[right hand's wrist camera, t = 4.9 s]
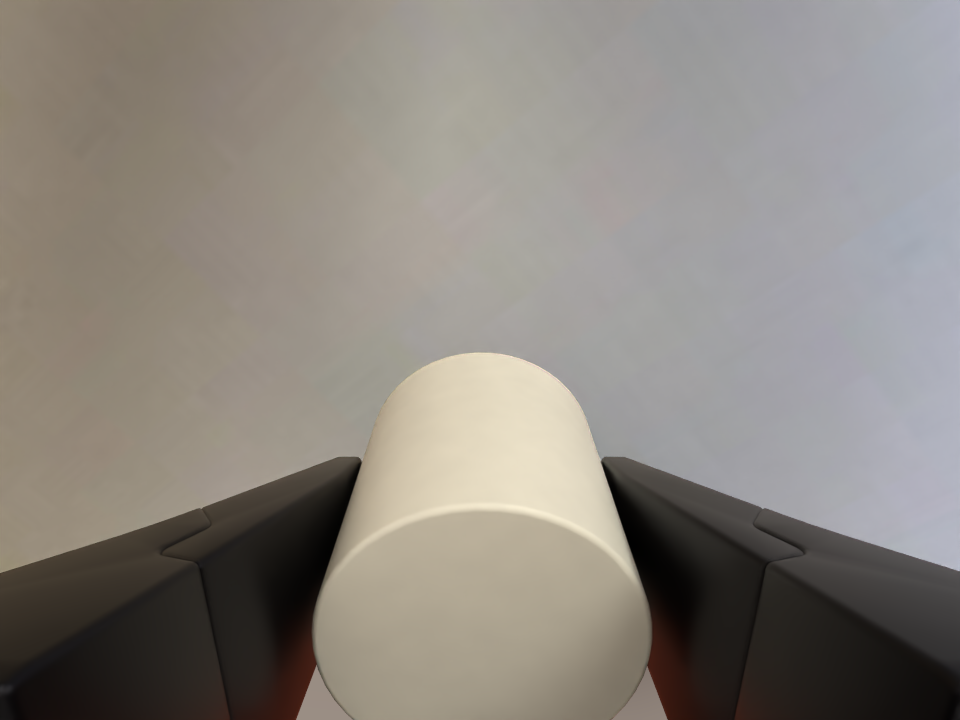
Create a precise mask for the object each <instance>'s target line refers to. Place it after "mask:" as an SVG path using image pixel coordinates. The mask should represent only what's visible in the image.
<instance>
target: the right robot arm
mask: <svg viewBox="0 0 960 720" xmlns="http://www.w3.org/2000/svg"><path fill="white" fill-rule="evenodd" d="M361 464H362V461H361V459H360V458H358V457H337V458H334V459H332V460H329V461H326V462H324V463H321V464H318V465H316V466H313V467H310V468H308V469H305V470H302V471H300V472H297V473H294V474H291V475H289V476H286V477H283V478H281V479H278V480H275V481H273V482H270V483H267V484H265V485H262V486H259V487H257V488H254V489H251V490H249V491H246V492H243V493H240V494H238V495H235V496H232V497H230V498H227V499H224V500H222V501H219V502H216V503H214V504H211V505H208V506H206V507H203V508H202V509H200V508H198V509H195V510H192V511H190V512H187V513H184V514H182V515H179V516H176V517H173V518H170V519H168V520H165V521H162V522H159V523H156V524H153V525H150V526H147V527H144V528H141V529H138V530H135V531H132V532H129V533H126V534H123V535H120V536H117V537H114V538H111V539H107V540H104V541H101V542H98V543H95V544H91V545H88V546H85V547H82V548H79V549H76V550H72V551H69V552H66V553H63V554H60V555H57V556H53V557H50V558H47V559H44V560H41V561H37V562H34V563H31V564H28V565H25V566H22V567H18V568H15V569H12V570H9V571H6V572H3V573H0V720H296V718H297V715H298V713H299V710H300V707H301V705H302V702H303V699H304V697H305V694H306V691H307V689H308V686H309V683H310V681H311V678H312V675H313V673H314V670H315V667H316V665H317V663H316V659H315V656H314V651H313V643H312V621H313V613H314V609H315V605H316V601H317V598H318V595H319V592H320V589H321V586H322V583H323V580H324V576H325V573H326V570H327V567H328V564H329V561H330V558H331V555H332V552H333V549H334V546H335V543H336V540H337V537H338V534H339V531H340V528H341V525H342V522H343V519H344V516H345V513H346V510H347V507H348V504H349V501H350V498H351V495H352V492H353V489H354V486H355V483H356V479H357V476H358V473H359V470H360V467H361ZM601 464H602V467H603V470H604V473H605V476H606V479H607V482H608V485H609V488H610V491H611V494H612V497H613V500H614V503H615V506H616V508H617V511H618V514H619V517H620V520H621V523H622V526H623V529H624V532H625V535H626V538H627V541H628V544H629V547H630V550H631V553H632V556H633V559H634V562H635V564H636V567H637V570H638V573H639V576H640V579H641V582H642V585H643V588H644V591H645V594H646V597H647V600H648V603H649V606H650V612H651V617H652V632H653V640H652V646H651V652H650V658H649V662H648V664H647V666H648V669H649V672H650V674H651V677H652V679H653V682H654V685H655V687H656V690H657V692H658V695H659V698H660V701H661V703H662V706H663V708H664V711H665V714H666V716H667V719H668V720H960V571H957V570H953V569H950V568H947V567H944V566H941V565H937V564H934V563H931V562H928V561H925V560H921V559H918V558H915V557H912V556H909V555H905V554H902V553H899V552H896V551H893V550H889V549H886V548H883V547H880V546H877V545H873V544H870V543H867V542H864V541H861V540H857V539H854V538H851V537H848V536H845V535H842V534H839V533H835V532H832V531H829V530H826V529H823V528H820V527H817V526H814V525H811V524H808V523H805V522H802V521H800V520H797V519H794V518H791V517H788V516H785V515H782V514H780V513H777V512H774V511H772V510H769V509H766V508H764V509H762V508H761V507H758V506H756V505H753V504H750V503H748V502H745V501H742V500H739V499H737V498H734V497H731V496H729V495H726V494H723V493H720V492H718V491H715V490H712V489H710V488H707V487H704V486H702V485H699V484H696V483H693V482H691V481H688V480H685V479H683V478H680V477H677V476H674V475H672V474H669V473H666V472H664V471H661V470H658V469H655V468H653V467H650V466H647V465H645V464H642V463H639V462H637V461H634V460H631V459H628V458H626V457H604V458H603V459H602V461H601Z"/></svg>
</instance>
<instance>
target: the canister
mask: <svg viewBox="0 0 960 720" xmlns="http://www.w3.org/2000/svg"><path fill="white" fill-rule="evenodd" d="M652 640H653V632H652V617H651V612H650V606H649V603H648V600H647V597H646V594H645V591H644V588H643V585H642V582H641V579H640V576H639V573H638V570H637V567H636V564H635V562H634V559H633V556H632V553H631V550H630V547H629V544H628V541H627V538H626V535H625V532H624V529H623V526H622V523H621V520H620V517H619V514H618V511H617V508H616V506H615V503H614V500H613V497H612V494H611V491H610V488H609V485H608V482H607V479H606V476H605V473H604V470H603V467H602V464H601V461H600V458H599V455H598V453H597V450H596V447H595V444H594V441H593V438H592V435H591V432H590V429H589V426H588V423H587V420H586V418H585V415H584V413H583V411H582V409H581V407H580V405H579V403H578V402H577V400H576V399H575V398H574V396H573V395H572V393H571V392H570V391H569V390H568V389H567V388H566V387H565V386H564V385H563V384H562V383H561V382H560V381H559V380H558V379H557V378H555V377H554V376H553V375H551V374H550V373H549V372H547V371H545V370H544V369H542V368H540V367H538V366H537V365H535V364H532V363H530V362H528V361H525V360H523V359H520V358H516V357H512V356H509V355H503V354H496V353H467V354H459V355H455V356H450V357H446V358H443V359H441V360H438V361H435V362H432V363H430V364H428V365H427V366H425V367H423V368H421V369H419V370H417V371H416V372H414V373H413V374H412V375H410V376H409V377H407V378H406V379H405V380H404V381H403V382H402V383H401V384H400V385H398V386H397V387H396V389H395V390H394V391H393V392H392V393H391V395H390V396H389V397H388V398H387V400H386V402H385V403H384V405H383V406H382V408H381V410H380V412H379V415H378V417H377V419H376V422H375V425H374V428H373V431H372V434H371V437H370V440H369V443H368V446H367V449H366V452H365V455H364V458H363V461H362V464H361V467H360V470H359V473H358V476H357V479H356V483H355V486H354V489H353V492H352V495H351V498H350V501H349V504H348V507H347V510H346V513H345V516H344V519H343V522H342V525H341V528H340V531H339V534H338V537H337V540H336V543H335V546H334V549H333V552H332V555H331V558H330V561H329V564H328V567H327V570H326V573H325V576H324V580H323V583H322V586H321V589H320V592H319V595H318V598H317V601H316V605H315V609H314V613H313V621H312V643H313V651H314V656H315V659H316V663H317V667H318V670H319V672H320V675H321V677H322V679H323V681H324V684H325V686H326V687H327V689H328V690H329V692H330V693H331V695H332V697H333V698H334V700H335V701H336V702H337V703H338V704H339V706H340V707H341V708H342V709H343V710H344V711H345V713H346V714H347V715H349V716H350V717H351V718H352V719H353V720H611V719H613V718H614V717H615V715H616V714H617V713H618V712H619V711H620V710H621V709H622V708H623V707H624V706H625V705H626V704H627V702H628V701H629V699H630V698H631V697H632V695H633V694H634V693H635V691H636V689H637V687H638V686H639V684H640V682H641V680H642V678H643V676H644V673H645V670H646V667H647V664H648V662H649V658H650V652H651V646H652Z"/></svg>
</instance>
